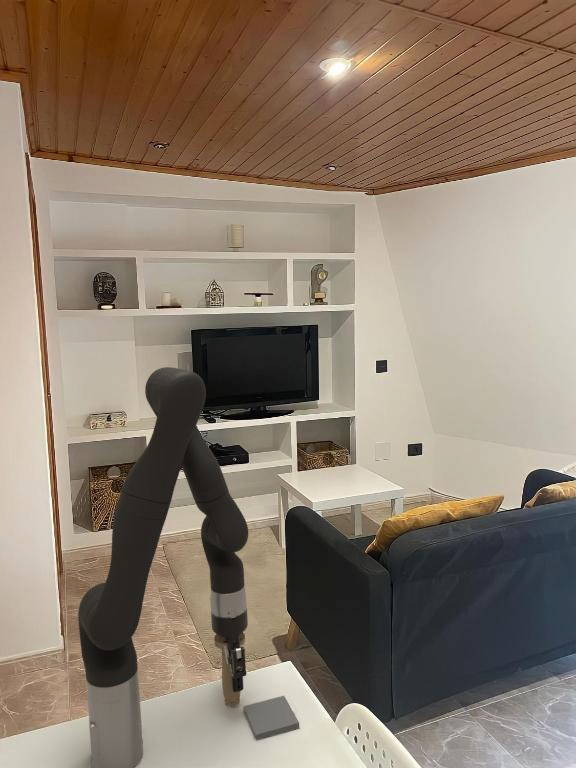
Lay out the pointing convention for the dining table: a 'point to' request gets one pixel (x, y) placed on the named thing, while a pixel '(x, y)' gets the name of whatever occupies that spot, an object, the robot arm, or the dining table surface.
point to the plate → (270, 717)
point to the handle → (228, 672)
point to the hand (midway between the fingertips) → (232, 678)
